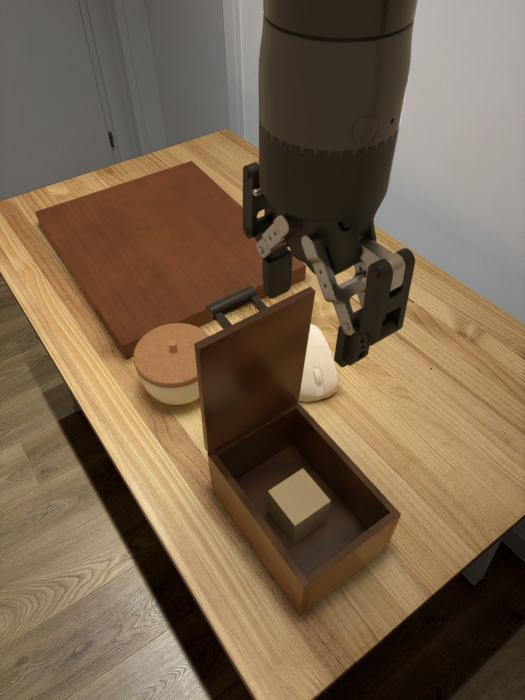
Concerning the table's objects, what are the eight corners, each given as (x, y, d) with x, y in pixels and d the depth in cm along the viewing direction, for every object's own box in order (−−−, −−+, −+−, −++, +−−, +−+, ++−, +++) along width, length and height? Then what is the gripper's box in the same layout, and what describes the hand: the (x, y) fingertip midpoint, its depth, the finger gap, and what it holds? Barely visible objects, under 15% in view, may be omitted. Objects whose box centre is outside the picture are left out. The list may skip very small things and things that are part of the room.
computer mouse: (297, 407, 76) (299, 379, 71) (271, 340, 84) (271, 311, 80) (341, 397, 77) (346, 368, 72) (311, 332, 86) (313, 303, 81)
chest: (387, 548, 63) (401, 514, 56) (299, 615, 58) (303, 587, 52) (294, 440, 73) (296, 400, 66) (212, 490, 68) (206, 453, 61)
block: (301, 488, 67) (303, 467, 63) (327, 520, 64) (331, 500, 61) (267, 510, 65) (267, 490, 61) (293, 544, 62) (294, 526, 59)
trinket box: (207, 351, 83) (202, 306, 76) (227, 406, 76) (223, 362, 69) (136, 369, 81) (124, 324, 74) (150, 427, 74) (138, 384, 67)
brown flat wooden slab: (193, 173, 116) (39, 225, 104) (191, 160, 114) (34, 211, 102) (305, 279, 94) (126, 359, 82) (306, 265, 92) (122, 345, 80)
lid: (316, 290, 51) (281, 257, 54) (198, 349, 46) (167, 309, 49) (299, 400, 65) (272, 369, 68) (208, 453, 61) (183, 418, 63)
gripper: (483, 144, 27) (415, 361, 39) (303, 51, 34) (293, 256, 47) (367, 194, 24) (333, 412, 36) (199, 80, 32) (217, 291, 44)
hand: (310, 324), depth 41 cm, fingers open, 8 cm apart
